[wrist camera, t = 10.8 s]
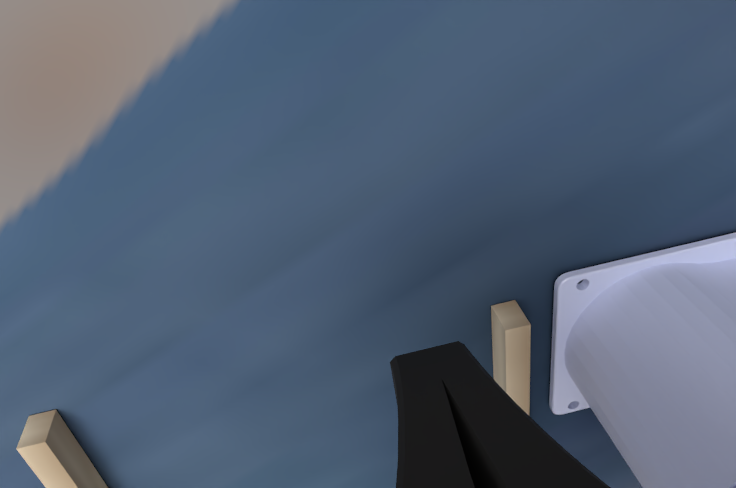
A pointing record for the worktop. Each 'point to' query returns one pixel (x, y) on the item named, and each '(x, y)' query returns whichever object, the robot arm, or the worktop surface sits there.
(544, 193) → the worktop surface
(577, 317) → the robot arm
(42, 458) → the bay
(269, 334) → the worktop surface
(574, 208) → the worktop surface
